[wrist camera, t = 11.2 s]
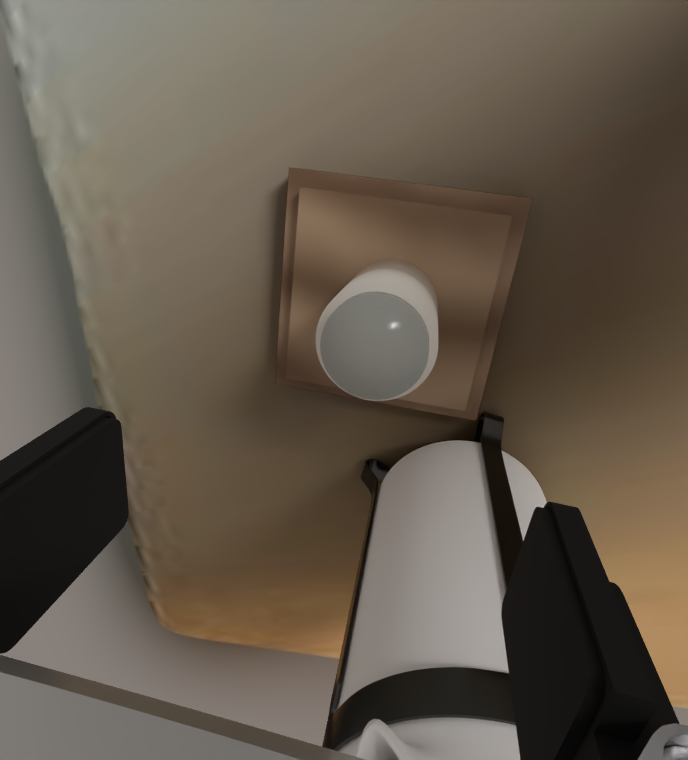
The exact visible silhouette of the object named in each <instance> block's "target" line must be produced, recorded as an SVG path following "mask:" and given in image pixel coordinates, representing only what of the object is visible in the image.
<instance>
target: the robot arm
mask: <svg viewBox="0 0 688 760" xmlns="http://www.w3.org/2000/svg"><path fill="white" fill-rule="evenodd" d="M128 514H129V510H128V498H127V487H126V475H125V464H124V452H123V440H122V429H121V423H120V421H119V420H117V419H116V417H115V415H114V414H113V413H112V412H110V411H105V410H100V409H95V408H90V407H88V408H87V407H86V408H83V409H81V410H80V411H79V412H77V413H75V414H74V415H72V416H70V417H69V418H67V419H66V420H64V421H62V422H61V423H59V424H58V425H56V426H55V427H53V428H51V429H50V430H48V431H47V432H45V433H44V434H42V435H41V436H39V437H37V438H36V439H34V440H32V441H31V442H30V443H28V444H27V445H25V446H23V447H21V448H20V449H18V450H17V451H15V452H14V453H12V454H10V455H9V456H7V457H6V458H4V459H3V460H1V461H0V653H6V652H7V651H9V650H10V649H11V648H12V647H13V646H15V645H16V643H17V642H18V641H19V640H20V639H21V638H22V637H23V636H24V635H25V634H26V633H27V631H28V630H29V629H30V628H31V627H32V626H33V625H34V624H35V623H36V622H37V621H38V619H39V618H40V617H41V616H42V615H43V614H44V613H45V612H46V611H47V610H48V609H49V608H50V606H51V605H52V604H53V603H54V602H55V601H56V600H57V599H58V598H59V597H60V596H61V595H62V593H63V592H64V591H65V590H66V589H67V588H68V587H69V586H70V585H71V584H72V583H73V582H74V580H75V579H76V578H77V577H78V576H79V575H80V574H81V573H82V572H83V570H84V569H85V568H86V567H87V566H88V565H89V564H90V563H91V562H92V561H93V560H94V559H95V558H96V556H97V555H98V554H99V553H100V552H101V551H102V550H103V549H104V548H105V547H106V546H107V545H108V543H109V542H110V541H111V540H112V539H113V538H114V537H115V536H116V535H117V534H118V533H119V531H120V530H121V529H122V528H123V527H124V525H125V523H126V521H127V519H128ZM501 616H502V625H503V633H504V640H505V648H506V655H507V663H508V670H509V678H510V685H511V693H512V700H513V708H514V715H515V723H516V730H517V738H518V745H519V753H520V760H688V726H687V725H681V724H679V721H678V719H677V717H676V715H675V712H674V710H673V708H672V705H671V703H670V701H669V698H668V696H667V694H666V692H665V689H664V687H663V685H662V682H661V680H660V678H659V675H658V673H657V671H656V669H655V666H654V664H653V662H652V659H651V657H650V655H649V652H648V650H647V648H646V646H645V643H644V641H643V639H642V636H641V634H640V632H639V629H638V627H637V625H636V623H635V620H634V618H633V616H632V613H631V611H630V609H629V606H628V604H627V602H626V600H625V597H624V595H623V593H622V591H621V590H620V588H619V586H617V585H616V584H615V583H612V582H609V580H608V577H607V575H606V573H605V570H604V568H603V565H602V563H601V560H600V558H599V556H598V553H597V551H596V548H595V546H594V544H593V541H592V539H591V536H590V534H589V531H588V529H587V527H586V524H585V522H584V519H583V517H582V515H581V512H580V510H579V509H578V508H576V507H572V506H567V505H563V504H558V503H553V502H547V503H546V504H545V506H544V508H542V507H536V508H535V510H534V512H533V515H532V517H531V520H530V523H529V526H528V529H527V532H526V535H525V538H524V541H523V544H522V547H521V549H520V552H519V555H518V558H517V561H516V564H515V567H514V570H513V573H512V576H511V578H510V581H509V584H508V587H507V590H506V593H505V596H504V599H503V603H502V611H501ZM0 760H366V759H362V758H359V757H355V756H352V755H348V754H345V753H342V752H338V751H335V750H331V749H328V748H324V747H321V746H318V745H314V744H311V743H307V742H304V741H300V740H297V739H294V738H290V737H286V736H283V735H280V734H276V733H273V732H269V731H266V730H263V729H259V728H255V727H252V726H249V725H245V724H242V723H238V722H235V721H232V720H228V719H224V718H221V717H217V716H214V715H211V714H207V713H203V712H200V711H197V710H193V709H190V708H186V707H182V706H179V705H176V704H172V703H169V702H165V701H162V700H158V699H155V698H151V697H148V696H144V695H140V694H137V693H133V692H130V691H126V690H123V689H120V688H116V687H113V686H109V685H105V684H102V683H98V682H95V681H91V680H88V679H84V678H80V677H77V676H73V675H70V674H66V673H62V672H59V671H56V670H52V669H48V668H45V667H41V666H38V665H34V664H30V663H27V662H23V661H20V660H16V659H13V658H9V657H5V656H2V655H0Z"/></svg>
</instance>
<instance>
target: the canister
mask: <svg viewBox="0 0 688 760" xmlns="http://www.w3.org/2000/svg"><path fill="white" fill-rule="evenodd" d="M316 350H317V355H318V358H319V361H320V363H321V365H322V367H323V369H324V371H325V372H326V374H327V375H328V377H329V378H330V379H331V380H332V381H333V382H334V383H335V384H336V385H337V386H338V387H339V388H341V389H342V390H344V391H345V392H347V393H349V394H351V395H353V396H356V397H358V398H362V399H365V400H372V401H385V400H392V399H396V398H399V397H402V396H404V395H406V394H408V393H410V392H412V391H413V390H415V389H416V388H417V387H418V386H420V385H421V384H422V383H423V382H424V380H425V379H426V378H427V377H428V375H429V374H430V372H431V371H432V369H433V366H434V364H435V361H436V358H437V354H438V301H437V294H436V291H435V288H434V286H433V284H432V282H431V280H430V279H429V277H428V276H427V275H426V274H425V273H424V272H423V271H422V270H421V269H420V268H418V267H417V266H415V265H413V264H412V263H409V262H407V261H403V260H399V259H385V260H379V261H376V262H374V263H371V264H369V265H368V266H366V267H365V268H363V269H362V270H361V271H360V272H359V273H358V274H357V275H356V276H355V277H354V278H353V279H352V280H351V281H350V282H349V283H348V284H347V285H346V286H345V287H344V288H343V289H342V290H341V291H340V292H339V293H338V294H337V295H336V296H335V297H334V298H333V299H332V301H331V302H330V303H329V304H328V305H327V307H326V308H325V310H324V311H323V313H322V315H321V317H320V319H319V322H318V325H317V330H316Z"/></svg>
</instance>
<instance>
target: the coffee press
mask: <svg viewBox="0 0 688 760" xmlns="http://www.w3.org/2000/svg"><path fill="white" fill-rule="evenodd" d="M503 423H504V418H503V417H501V416H498V415H495V414H491V413H488V412H485V411H484V412H483V413H482V414H481V416H480V418H479V421H478V425H477V430H476V434H475V439H474V442H472V441H461V440H453V441H443V442H437V443H433V444H429V445H426V446H423V447H421V448H419V449H416V450H414V451H412V452H411V453H409V454H407V455H406V456H404V457H403V458H402V459H401V460H399V461H398V462H397V463H396V464H395V465H394V466H393V467H392V468H391V469H390V470H389V469H388V468H387V467H386V466H385V465H384V464H383V463H382V462H380V461H378V460H375V459H368V460H366V462H365V465H364V468H363V471H362V474H361V479H362V481H363V482H364V483H365V485H366V486H367V487H368V489H369V490H370V492H371V496H372V499H371V506H370V511H369V517H368V522H367V527H366V532H365V537H364V542H363V547H362V551H361V556H360V561H359V566H358V571H357V576H356V581H355V586H354V591H353V596H352V601H351V605H350V610H349V615H348V620H347V625H346V630H345V635H344V640H343V645H342V650H341V654H340V659H339V664H338V669H337V674H336V679H335V684H334V689H333V694H332V699H331V704H330V710H329V716H328V721H327V725H326V730H325V736H324V740H323V745H322V747H324V748H328V749H331V750H335V751H338V752H342V753H345V754H348V755H352V756H355V757H359V758H362V759H366V760H520V753H519V745H518V738H517V730H516V723H515V715H514V708H513V700H512V693H511V685H510V678H509V670H508V663H507V655H506V648H505V640H504V633H503V625H502V616H501V611H502V603H503V599H504V596H505V593H506V590H507V587H508V584H509V581H510V578H511V576H512V573H513V570H514V567H515V564H516V561H517V558H518V555H519V552H520V549H521V547H522V544H523V541H524V538H525V535H526V532H527V529H528V526H529V523H530V520H531V517H532V515H533V512H534V510H535V508H536V507H542V508H544V506H545V504H546V503H547V502H546V499H545V496H544V494H543V492H542V489H541V487H540V486H539V484H538V482H537V480H536V479H535V478H534V476H533V475H532V474H531V472H530V471H529V470H528V469H527V468H526V467H525V466H524V465H523V464H522V463H520V462H519V461H518V460H517V459H515V458H514V457H512V456H511V455H509V454H507V453H505V452H504V451H502V450H501V438H502V430H503ZM376 477H377V478H378V479H379V480H380V481H381V482H382V484H381V486H380V488H379V491H378V480H377V478H376ZM377 491H378V495H377ZM376 497H377V499H376ZM375 502H376V503H375ZM334 712H335V713H334Z"/></svg>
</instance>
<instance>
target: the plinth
mask: <svg viewBox="0 0 688 760" xmlns="http://www.w3.org/2000/svg"><path fill="white" fill-rule="evenodd" d="M532 200H533V198H526V197H518V196H510V195H503V194H495V193H487V192H479V191H471V190H463V189H455V188H447V187H440V186H432V185H424V184H416V183H408V182H400V181H392V180H384V179H377V178H369V177H361V176H353V175H345V174H337V173H329V172H321V171H314V170H306V169H298V168H289V175H288V191H287V206H286V222H285V237H284V253H283V269H282V284H281V300H280V315H279V331H278V346H277V362H276V377H275V384H279V385H284V386H290V387H295V388H301V389H306V390H312V391H317V392H323V393H328V394H333V395H339V396H344V397H350V398H355V399H361V400H365V399H362V398H358V397H356V396H353V395H351V394H349V393H347V392H345V391H344V390H342V389H341V388H339V387H338V386H337V385H336V384H335V383H334V382H333V381H332V380H331V379H330V378H329V377H328V375H327V374H326V372H325V371H324V369H323V367H322V365H321V363H320V361H319V358H318V355H317V350H316V330H317V325H318V322H319V319H320V317H321V315H322V313H323V311H324V310H325V308H326V307H327V305H328V304H329V303H330V302H331V301H332V299H333V298H334V297H335V296H336V295H337V294H338V293H339V292H340V291H341V290H342V289H343V288H344V287H345V286H346V285H347V284H348V283H349V282H350V281H351V280H352V279H353V278H354V277H355V276H356V275H357V274H358V273H359V272H360V271H361V270H362V269H363V268H365V267H366V266H368V265H369V264H371V263H374V262H376V261H379V260H385V259H399V260H403V261H407V262H409V263H412V264H413V265H415V266H417V267H418V268H420V269H421V270H422V271H423V272H424V273H425V274H426V275H427V276H428V277H429V279H430V280H431V282H432V284H433V286H434V288H435V291H436V294H437V301H438V354H437V358H436V361H435V364H434V366H433V369H432V371H431V372H430V374H429V375H428V377H427V378H426V379H425V380H424V382H423V383H422V384H421V385H420V386H418V387H417V388H416V389H415V390H413V391H412V392H410V393H408V394H406V395H404V396H402V397H399V398H396V399H392V400H385V401H372V400H366V401H372V402H377V403H383V404H388V405H393V406H399V407H404V408H410V409H415V410H421V411H426V412H432V413H437V414H443V415H448V416H453V417H459V418H464V419H470V420H475V421H476V419H477V415H478V411H479V407H480V403H481V399H482V396H483V392H484V388H485V384H486V380H487V376H488V372H489V368H490V364H491V360H492V357H493V353H494V349H495V345H496V341H497V337H498V333H499V329H500V325H501V321H502V317H503V314H504V310H505V306H506V302H507V298H508V294H509V290H510V286H511V282H512V278H513V275H514V271H515V267H516V263H517V259H518V255H519V251H520V247H521V243H522V239H523V236H524V232H525V228H526V224H527V220H528V216H529V212H530V208H531V204H532Z"/></svg>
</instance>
